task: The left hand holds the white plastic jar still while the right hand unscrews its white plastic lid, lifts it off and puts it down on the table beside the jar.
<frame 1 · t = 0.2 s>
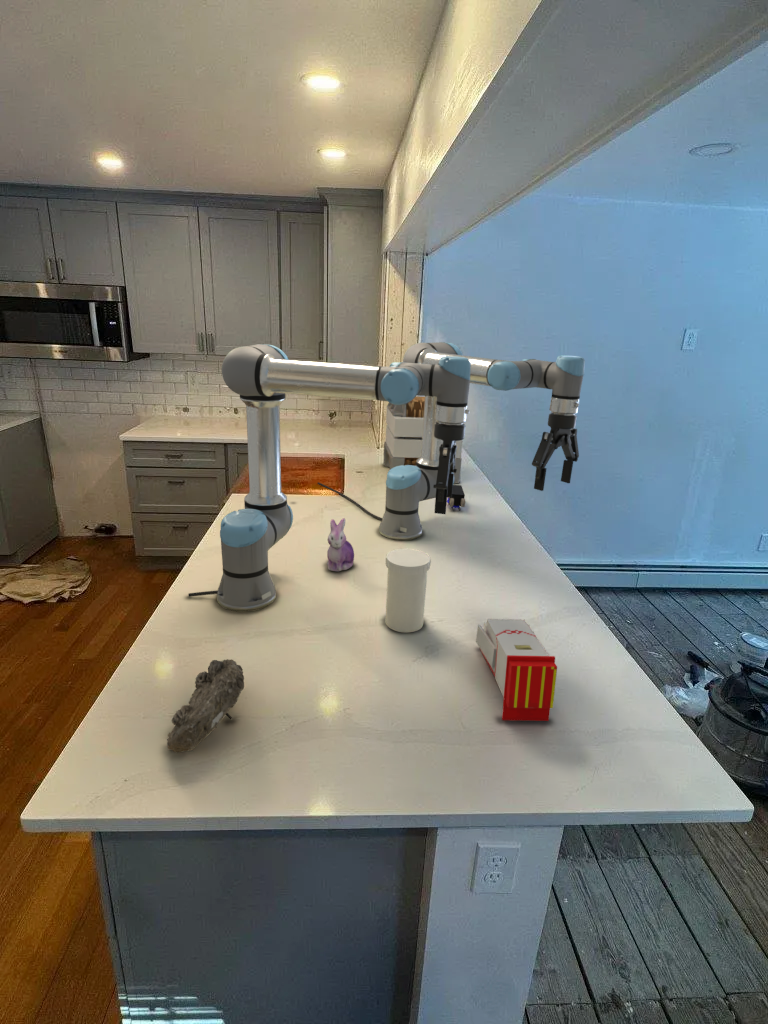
left hand: (443, 504, 145), 28 cm above the counter, tool pointing down, fingers open, 13 cm apart
right hand: (552, 485, 166), 28 cm above the counter, tool pointing down, fingers open, 13 cm apart
jar: (404, 622, 144), on the counter
figurine: (340, 566, 173), on the counter
toy: (508, 678, 123), on the counter
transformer: (419, 473, 275), on the counter
fossil: (212, 717, 108), on the counter
lid: (408, 558, 138), point 18 cm above the counter, screwed on, not yet turned
figurine character: (454, 506, 230), on the counter
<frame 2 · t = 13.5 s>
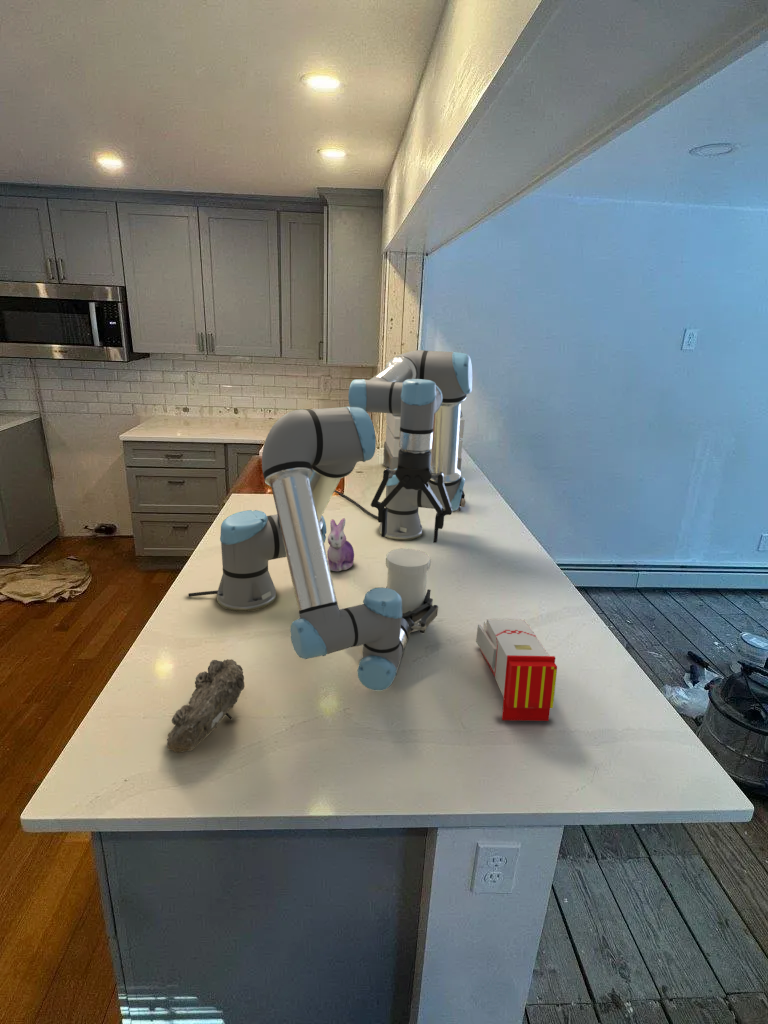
left hand: (408, 591, 146), 7 cm above the counter, tool horizontal, fingers closed on jar, 10 cm apart
right hand: (409, 537, 136), 23 cm above the counter, tool pointing down, fingers open, 12 cm apart
jar: (404, 622, 144), on the counter, touching left hand
everything else where it was.
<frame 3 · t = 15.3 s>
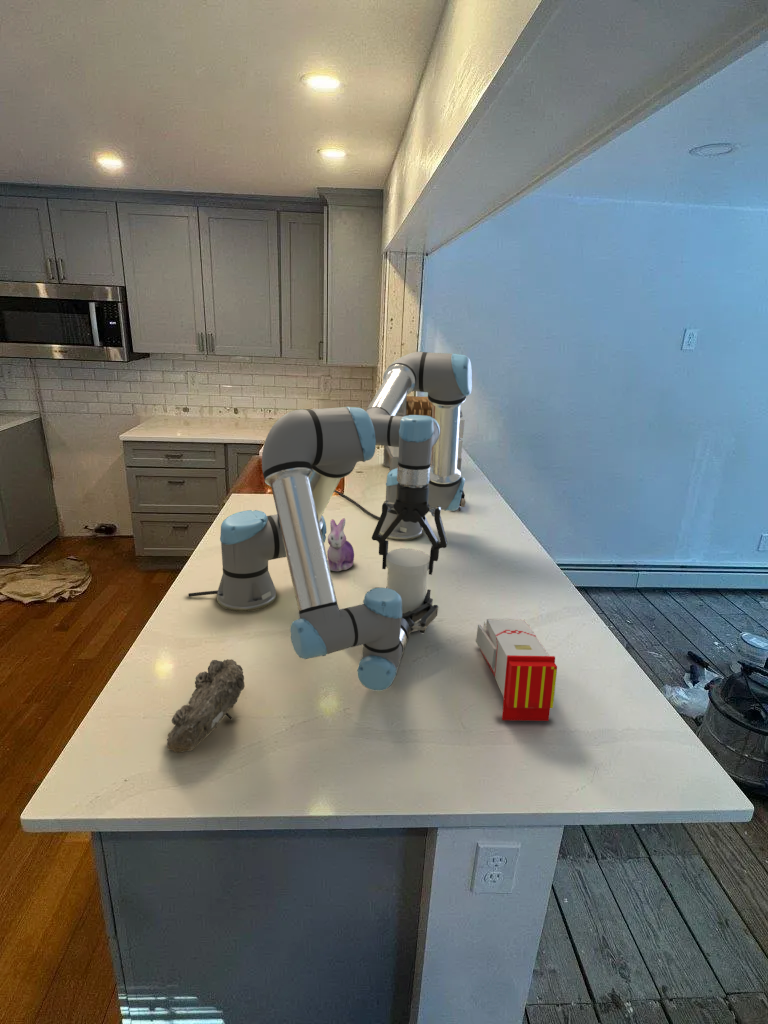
left hand: (408, 591, 146), 7 cm above the counter, tool horizontal, fingers closed on jar, 10 cm apart
right hand: (407, 569, 139), 15 cm above the counter, tool pointing down, fingers closed on lid, 11 cm apart
jar: (404, 622, 144), on the counter, touching left hand
lid: (408, 558, 138), point 18 cm above the counter, screwed on, not yet turned, touching right hand
everything else where it was.
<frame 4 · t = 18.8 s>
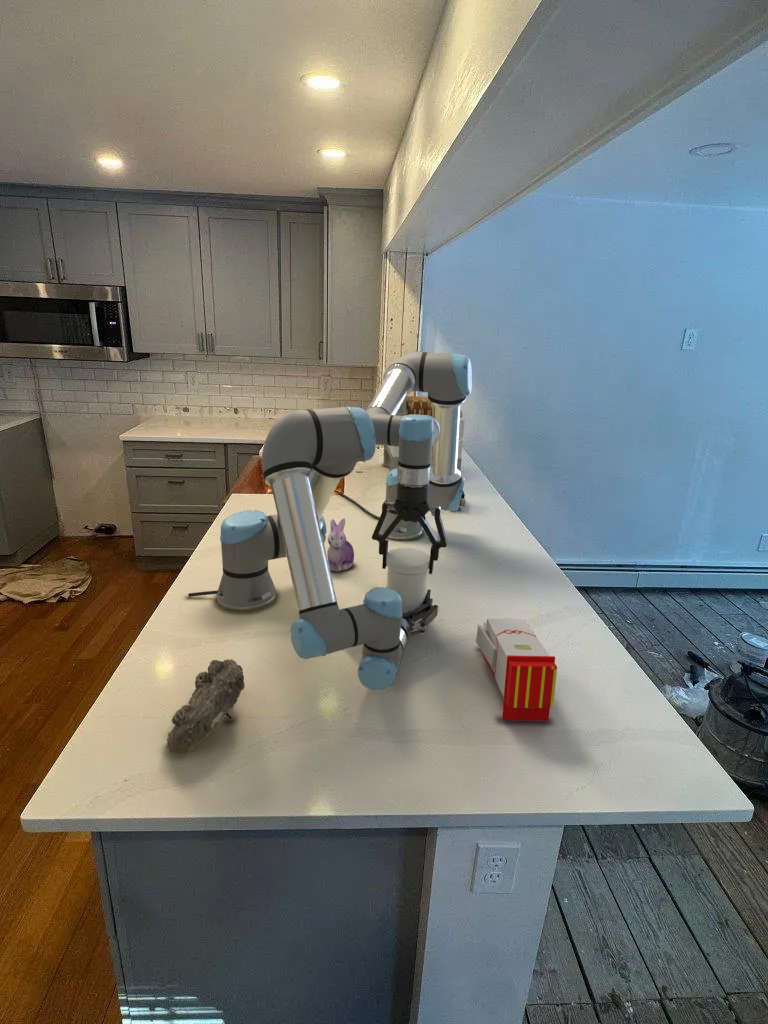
left hand: (408, 591, 146), 7 cm above the counter, tool horizontal, fingers closed on jar, 10 cm apart
right hand: (407, 569, 139), 15 cm above the counter, tool pointing down, fingers closed on lid, 11 cm apart
jar: (404, 622, 144), on the counter, touching left hand
lid: (408, 557, 138), point 18 cm above the counter, turned 115° so far, risen 0.2 cm, still on its thread, touching right hand
everything else where it was.
when the right hand's fingers open (0 cm above the counter, at t = 31.9 s): lid drops 1 cm, point 2 cm above the counter.
when the left hand's fingers open (7 cm above the counter, at t = 32.9 s): jar stays where it is, on the counter.
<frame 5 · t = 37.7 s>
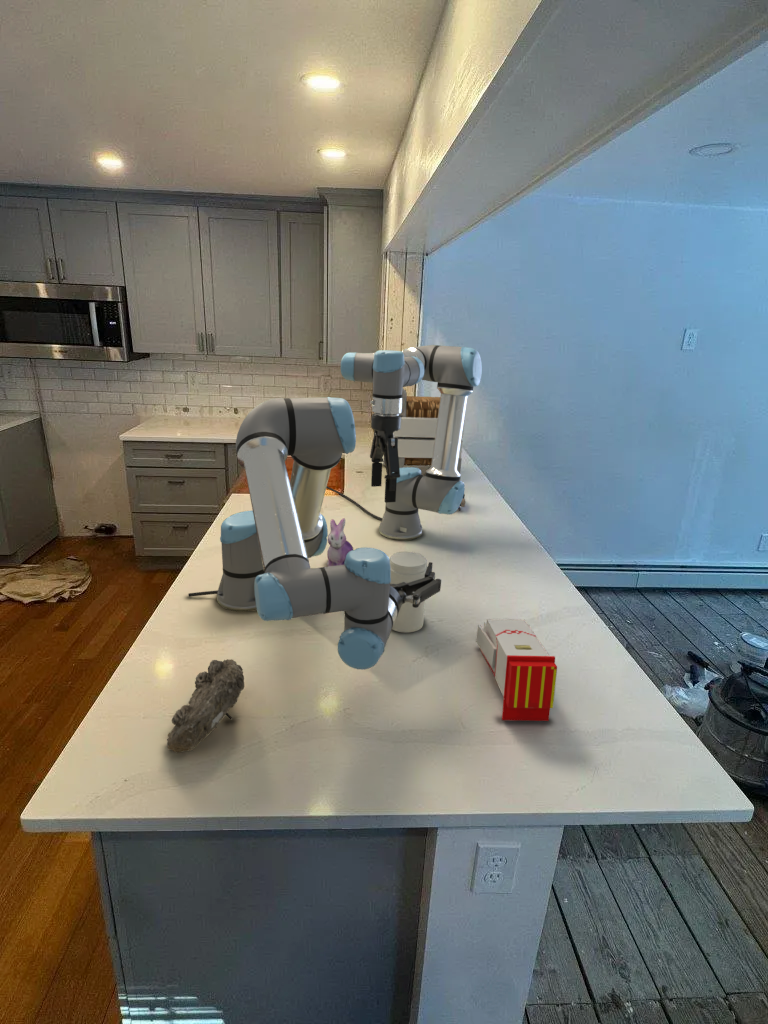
left hand: (400, 563, 127), 21 cm above the counter, tool horizontal, fingers open, 13 cm apart
right hand: (382, 493, 151), 28 cm above the counter, tool pointing down, fingers open, 13 cm apart
jar: (404, 622, 144), on the counter
lid: (378, 583, 159), point 2 cm above the counter, off its thread
everything else where it was.
at the end: lid came off its thread; lid point 1.9 cm above the counter; the left hand is holding nothing; the right hand is holding nothing; jar tilted 0°; jar moved 0.0 cm from its start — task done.
